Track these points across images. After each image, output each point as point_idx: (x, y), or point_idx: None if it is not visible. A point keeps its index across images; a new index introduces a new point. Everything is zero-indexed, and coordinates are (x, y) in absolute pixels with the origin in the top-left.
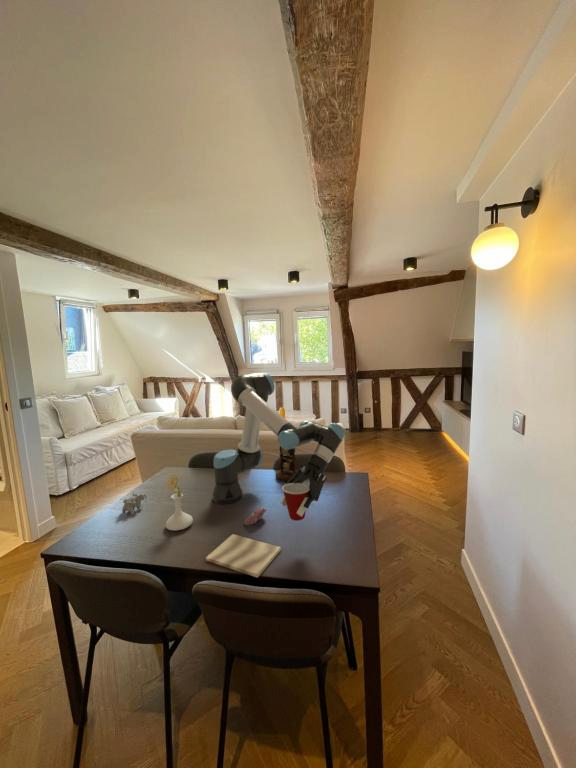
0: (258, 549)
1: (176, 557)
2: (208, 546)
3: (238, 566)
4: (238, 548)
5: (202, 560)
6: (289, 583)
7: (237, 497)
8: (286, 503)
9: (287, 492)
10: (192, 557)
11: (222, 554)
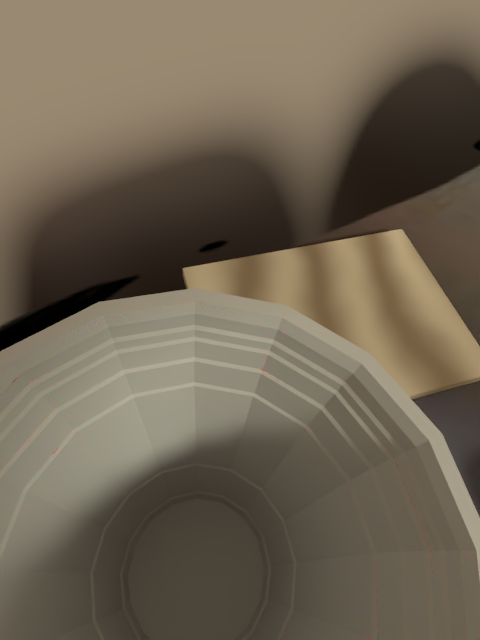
0: None
1: (474, 200)
2: (476, 282)
3: (272, 258)
4: (371, 320)
5: (405, 232)
6: (59, 319)
7: None
8: (280, 464)
9: (184, 297)
10: (443, 224)
11: (377, 265)
